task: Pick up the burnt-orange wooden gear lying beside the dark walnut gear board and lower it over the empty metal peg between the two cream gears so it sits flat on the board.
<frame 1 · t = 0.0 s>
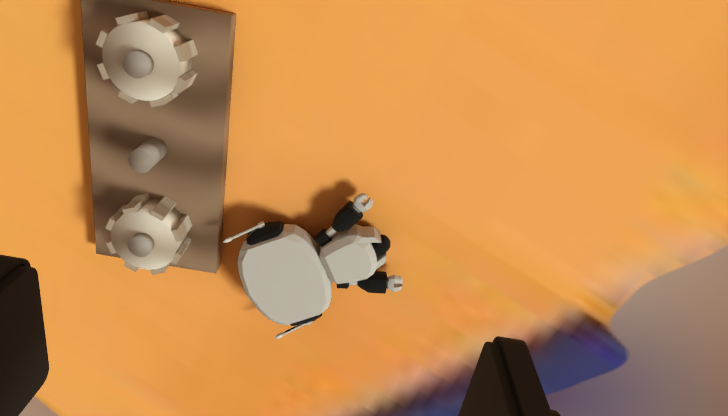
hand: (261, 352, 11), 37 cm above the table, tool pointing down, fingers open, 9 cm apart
robot toy: (320, 250, 53), on the table
gear board: (162, 142, 48), on the table
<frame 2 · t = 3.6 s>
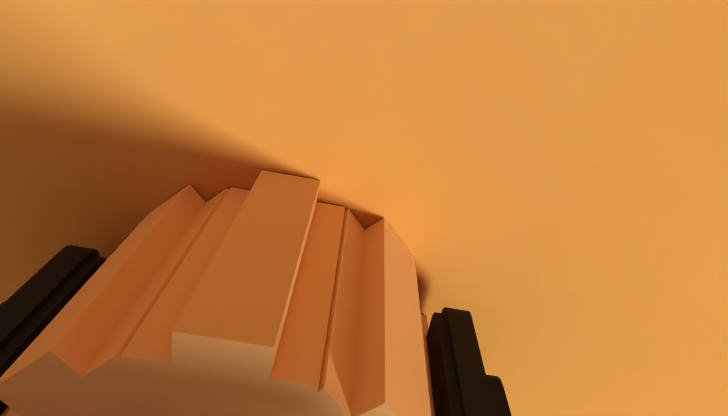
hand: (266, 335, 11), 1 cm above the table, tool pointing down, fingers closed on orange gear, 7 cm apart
orange gear: (274, 311, 12), on the table, touching gripper
when the fingers open (3 cm above the table, at t = 9.5 s): orange gear stays where it is, resting on gear board.
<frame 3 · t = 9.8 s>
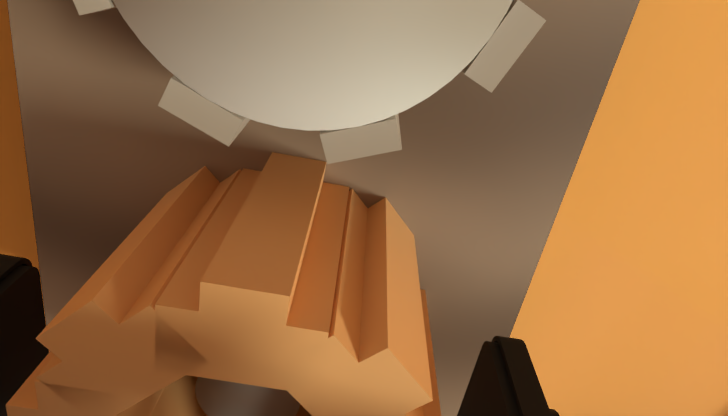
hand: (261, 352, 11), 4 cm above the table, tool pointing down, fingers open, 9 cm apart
orange gear: (282, 286, 13), point 1 cm above the table, touching gear board
gear board: (290, 257, 14), on the table
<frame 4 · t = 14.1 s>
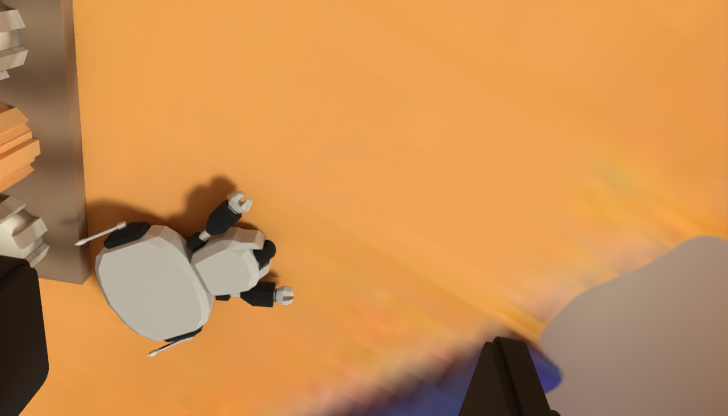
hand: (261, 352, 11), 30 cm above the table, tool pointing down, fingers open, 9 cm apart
robot toy: (202, 256, 46), on the table
gear board: (5, 133, 41), on the table
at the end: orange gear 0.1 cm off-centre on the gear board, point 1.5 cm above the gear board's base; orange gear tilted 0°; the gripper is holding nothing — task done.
